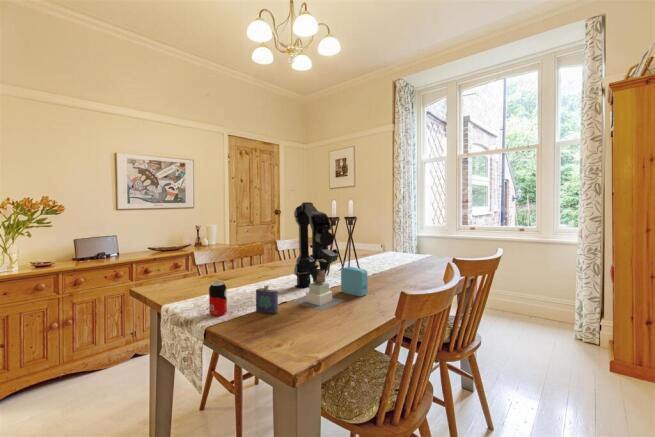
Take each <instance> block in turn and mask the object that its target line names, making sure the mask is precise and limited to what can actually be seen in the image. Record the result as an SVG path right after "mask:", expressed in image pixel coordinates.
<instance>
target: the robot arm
mask: <svg viewBox="0 0 655 437" xmlns="http://www.w3.org/2000/svg"><path fill="white" fill-rule="evenodd" d="M293 215H294V220H295V222H296V224H297V225H298V242H299V243H298V245H299V249H298V251H299V255H298V257H297V259H296V263H295V266H294V269H293V274H294V275H295V277H296V284H295V285H294V287H295V288H299V289H306V288H309V284H311V278H312V281H313V280H314V281H316V275H317V269H325V275H326V273H327V271H328V268H329V267H330V265H331V264H333V262H336V261H338V258H339V254H340V253H339V249H337V248H334V249H329V247H330V246H331V245H332V244H333V242H334V235H333V234H332V233H331V232H330V231H331V230H332V224H331V221H330V219H329V216H328V215H327V213H325V212H323V211H319V210H318V208H316V207H315V206H314V204H313V202H311V201H309V202H307V201H305V202H301V204H300V205H298V206H297V207H295V210H294V214H293ZM309 226H310V229H311V244H310V246H309ZM309 248H310V249H311V250H312V251H311V253H312V254H309V251H310V250H309ZM317 263H318V264H317ZM318 267H319V268H318Z"/></svg>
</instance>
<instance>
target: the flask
mask: <svg viewBox="0 0 655 437" xmlns="http://www.w3.org/2000/svg"><path fill="white" fill-rule="evenodd" d="M269 287H270V286H269V285H268V284H267V285H264V288H263V287H259V288H256V289H255V312H256V313H259V314H266V315H277V314H278V313H279V302H278V299H279V298H278V296H279V295H278V294H279V291H278V290H277V289H269Z"/></svg>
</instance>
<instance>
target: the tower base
mask: <svg viewBox="0 0 655 437" xmlns="http://www.w3.org/2000/svg"><path fill="white" fill-rule="evenodd" d="M332 297H333V291H331V290H329V292H327V293H324V294H321V295H318V294H314V293H310V292H309V291H306V292H305V298H306V302H309V303H312V304H316V305H319V306H321V305H323V304H325V303H328V302H330V301H332Z"/></svg>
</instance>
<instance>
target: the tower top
mask: <svg viewBox="0 0 655 437" xmlns="http://www.w3.org/2000/svg"><path fill="white" fill-rule="evenodd" d="M308 290H309V291H308V292H310V293H314V294H318V295H321V294H324V293H327V292H329V291H330V283H329V282H324V283H314V282H310V284H309V287H308Z"/></svg>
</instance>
